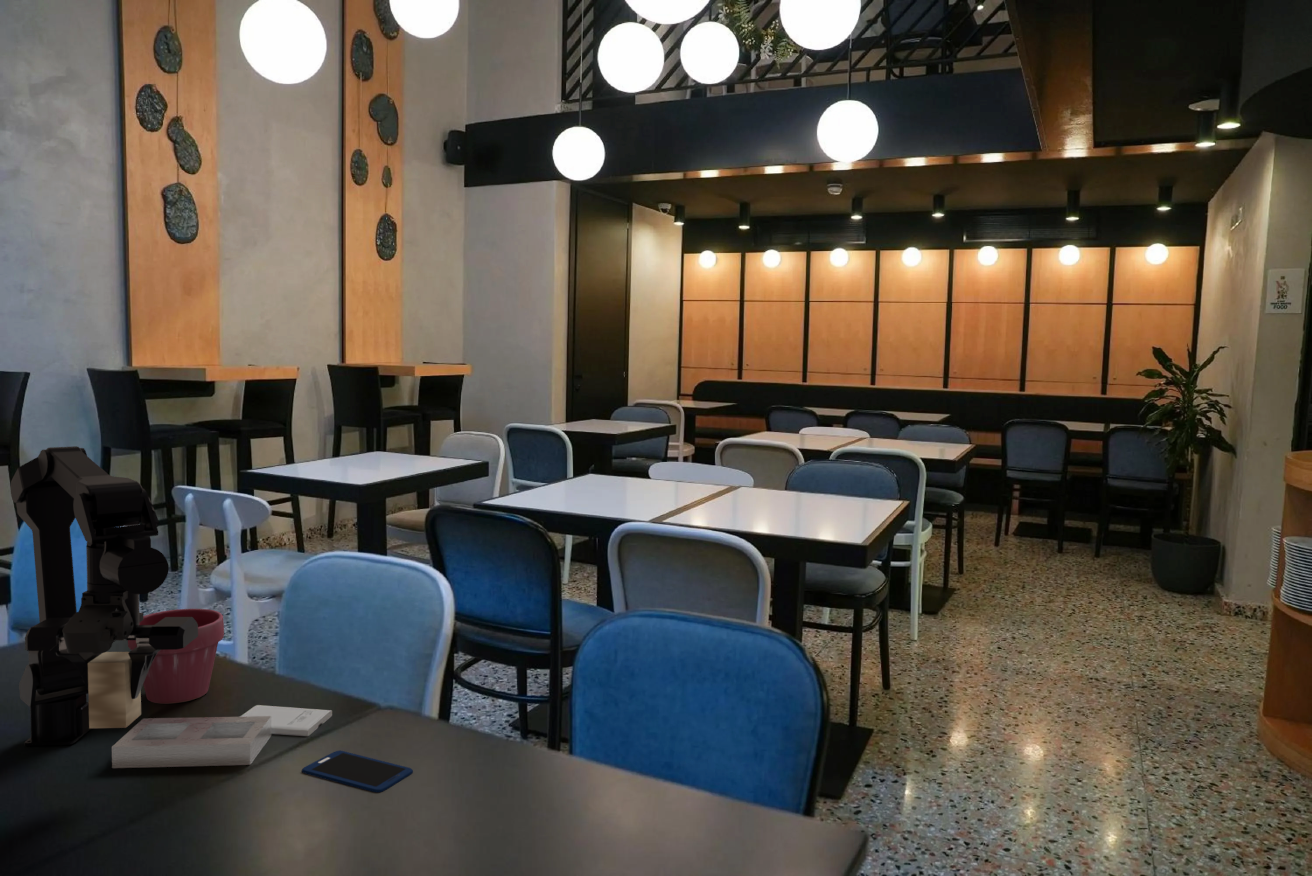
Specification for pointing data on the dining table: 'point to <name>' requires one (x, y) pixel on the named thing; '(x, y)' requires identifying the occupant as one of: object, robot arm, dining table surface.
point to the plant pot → (183, 659)
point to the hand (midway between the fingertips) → (115, 698)
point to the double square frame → (192, 742)
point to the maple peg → (111, 691)
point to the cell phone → (358, 771)
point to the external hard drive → (291, 719)
